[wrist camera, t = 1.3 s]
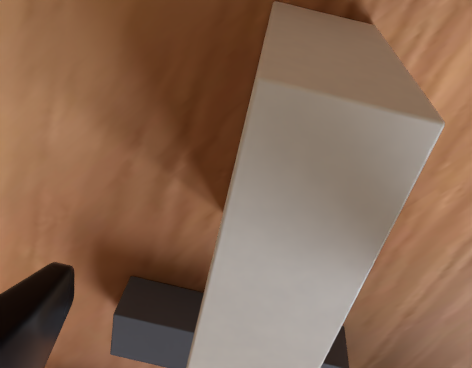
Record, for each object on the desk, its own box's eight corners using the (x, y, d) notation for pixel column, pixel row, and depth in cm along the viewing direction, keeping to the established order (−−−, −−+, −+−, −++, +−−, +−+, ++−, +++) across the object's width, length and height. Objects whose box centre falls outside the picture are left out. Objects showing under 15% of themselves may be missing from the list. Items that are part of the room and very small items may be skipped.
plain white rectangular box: (376, 25, 15) (448, 122, 8) (300, 232, 19) (303, 404, 13) (273, 0, 14) (255, 76, 8) (222, 214, 19) (183, 376, 12)
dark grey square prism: (344, 325, 22) (349, 369, 20) (325, 361, 24) (328, 405, 22) (130, 275, 22) (113, 314, 20) (126, 315, 23) (109, 355, 21)
